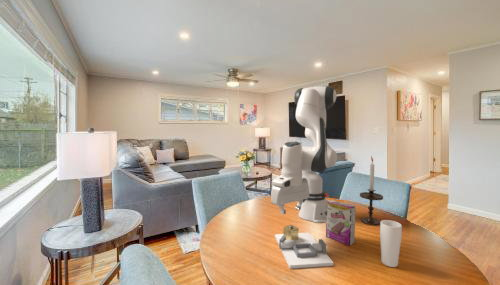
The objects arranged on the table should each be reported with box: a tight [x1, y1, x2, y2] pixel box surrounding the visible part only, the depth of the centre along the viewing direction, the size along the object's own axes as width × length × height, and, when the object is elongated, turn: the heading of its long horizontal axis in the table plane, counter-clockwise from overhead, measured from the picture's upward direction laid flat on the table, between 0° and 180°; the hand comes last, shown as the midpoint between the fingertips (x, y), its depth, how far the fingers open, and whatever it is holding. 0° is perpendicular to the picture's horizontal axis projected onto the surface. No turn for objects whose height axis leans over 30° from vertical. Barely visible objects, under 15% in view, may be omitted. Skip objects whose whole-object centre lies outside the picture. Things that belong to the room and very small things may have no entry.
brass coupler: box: [283, 224, 300, 241], centre depth 100 cm, size 4×4×6 cm
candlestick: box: [359, 155, 384, 227], centre depth 121 cm, size 11×11×35 cm
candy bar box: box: [325, 199, 357, 247], centre depth 101 cm, size 11×5×16 cm, turn 44°
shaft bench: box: [274, 232, 334, 269], centre depth 93 cm, size 17×24×5 cm
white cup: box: [379, 219, 403, 268], centre depth 84 cm, size 7×7×15 cm
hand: (290, 211), depth 99 cm, fingers open, 8 cm apart
